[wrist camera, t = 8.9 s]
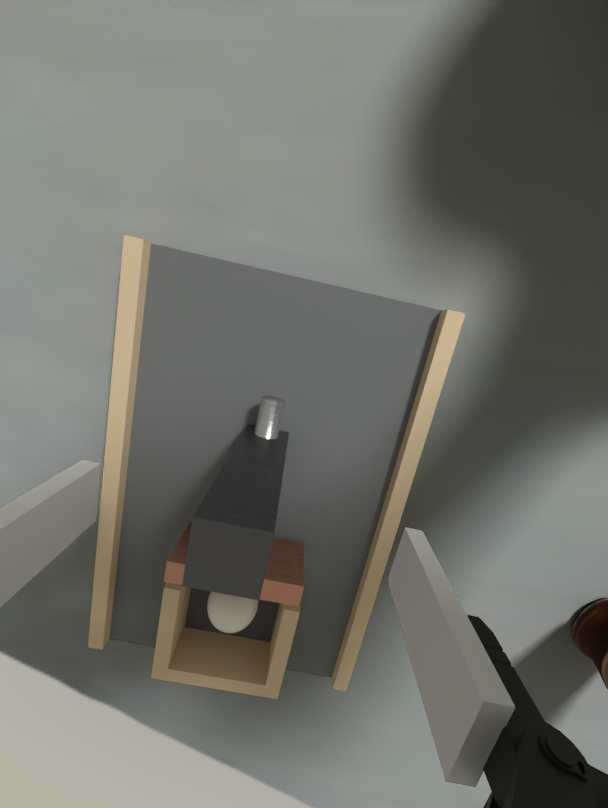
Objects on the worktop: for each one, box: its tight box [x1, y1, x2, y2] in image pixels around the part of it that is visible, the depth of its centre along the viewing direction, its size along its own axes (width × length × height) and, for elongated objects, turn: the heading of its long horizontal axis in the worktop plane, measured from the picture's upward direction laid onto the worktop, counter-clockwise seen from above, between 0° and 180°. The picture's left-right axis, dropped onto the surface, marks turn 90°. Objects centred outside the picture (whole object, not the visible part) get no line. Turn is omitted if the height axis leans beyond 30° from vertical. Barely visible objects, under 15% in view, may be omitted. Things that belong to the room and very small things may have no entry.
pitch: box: [88, 235, 465, 699], centre depth 25 cm, size 32×22×4 cm
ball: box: [207, 592, 258, 633], centre depth 26 cm, size 4×4×4 cm
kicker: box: [164, 396, 304, 607], centre depth 19 cm, size 14×9×12 cm, turn 168°
